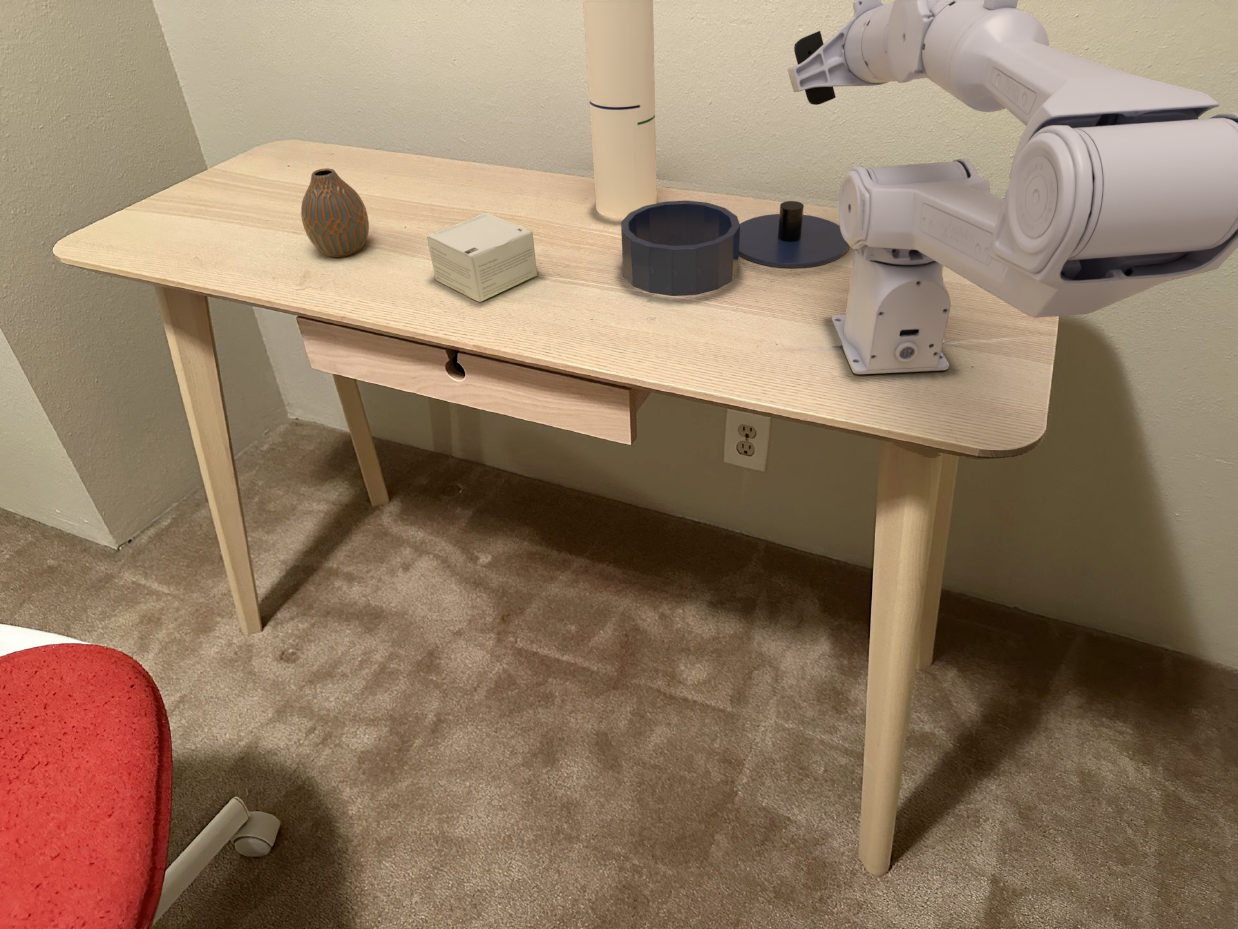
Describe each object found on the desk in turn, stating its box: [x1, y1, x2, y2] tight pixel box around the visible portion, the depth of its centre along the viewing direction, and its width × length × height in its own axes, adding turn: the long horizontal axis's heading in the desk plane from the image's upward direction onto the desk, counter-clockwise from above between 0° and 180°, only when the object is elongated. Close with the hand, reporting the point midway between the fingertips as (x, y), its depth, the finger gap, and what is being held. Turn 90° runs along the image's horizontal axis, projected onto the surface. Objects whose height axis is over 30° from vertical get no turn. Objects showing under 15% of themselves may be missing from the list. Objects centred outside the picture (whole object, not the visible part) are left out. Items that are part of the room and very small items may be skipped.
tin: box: [620, 200, 740, 297], centre depth 86 cm, size 12×12×5 cm
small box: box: [426, 211, 538, 303], centre depth 87 cm, size 8×8×5 cm
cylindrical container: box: [582, 0, 658, 219], centre depth 93 cm, size 7×7×25 cm
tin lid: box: [739, 200, 850, 269], centre depth 90 cm, size 13×13×5 cm
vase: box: [300, 167, 370, 258], centre depth 93 cm, size 7×7×9 cm
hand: (844, 52), depth 80 cm, fingers open, 7 cm apart
